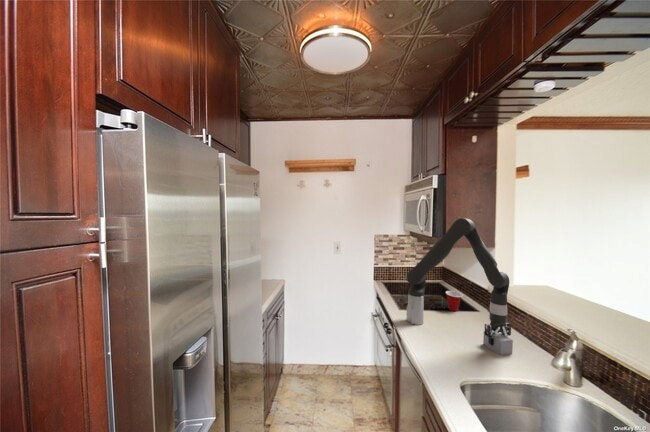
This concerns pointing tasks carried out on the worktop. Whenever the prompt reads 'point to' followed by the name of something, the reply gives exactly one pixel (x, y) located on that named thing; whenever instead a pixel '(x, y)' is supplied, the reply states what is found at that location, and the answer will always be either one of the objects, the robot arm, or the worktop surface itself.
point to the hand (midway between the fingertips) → (497, 344)
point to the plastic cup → (453, 300)
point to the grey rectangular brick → (500, 344)
